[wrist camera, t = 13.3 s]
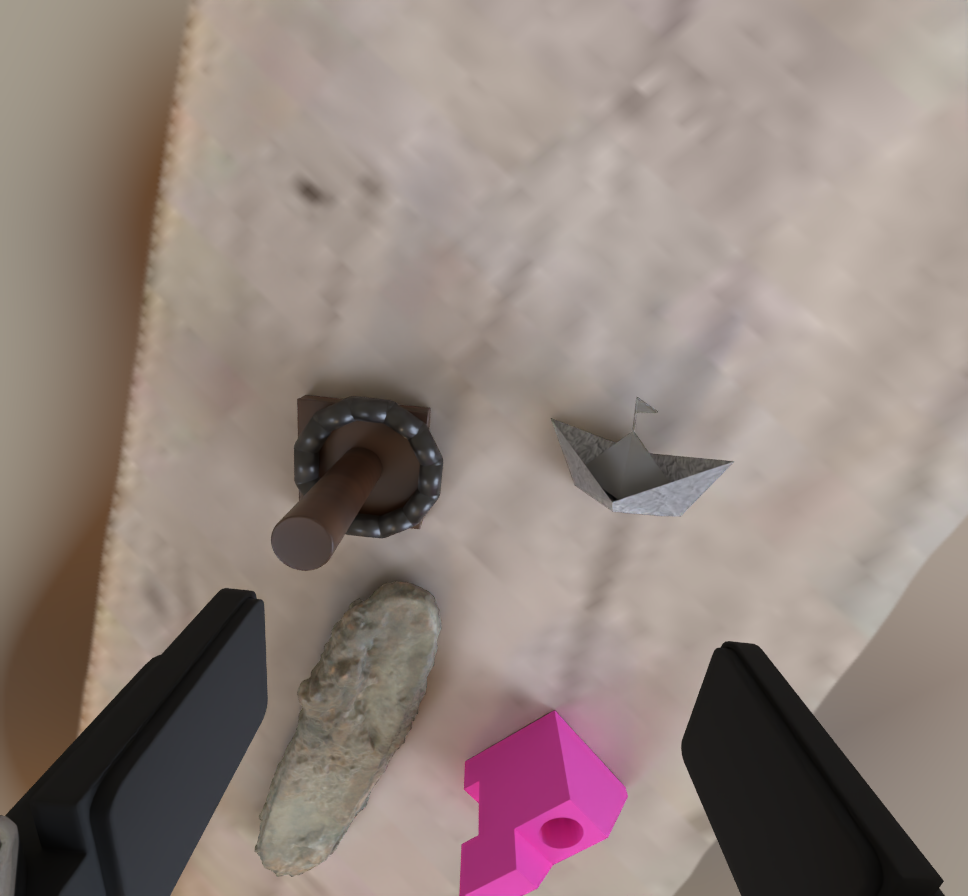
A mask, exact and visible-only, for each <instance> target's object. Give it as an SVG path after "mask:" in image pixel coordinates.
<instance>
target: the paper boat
mask: <svg viewBox="0 0 968 896" xmlns="http://www.w3.org/2000/svg"><path fill="white" fill-rule="evenodd" d="M637 413H658V411H657V410H655V409H654V408H652V407H651V406H650V405H648V404H647V403H645V402H644V401H642V400H641V399H640V398H638V397H637V398H636V406H635V414H634V422H633V430H632V432H631V433H629V434H628V435H627V436H625V437H624V438H623V439H621V440H620V441H618V442H617V443H615V442H612V441H609V440H607V439H604V438H602V437H599V436H596V435H594V434H591V433H589V432H586V431H583V430H581V429H578V428H576V427H573V426H570V425H568V424H565V423H563V422H560V421H557V420H555V419H552V418H551V420H552V423H553V426H554V429H555V431H556V434H557V437H558V440H559V442H560V445H561V448H562V451H563V454H564V456H565V459H566V462H567V465H568V467H569V470H570V473H571V476H572V479H573V481H574V484H575V486H576V487H578V488H579V489H581V490H582V491H584V492H585V493H587V494H588V495H589V496H591V497H592V498H594V499H595V500H597V501H598V502H599V503H601V504H602V505H604V506H605V507H607V508H608V509H610V510H611V511H612V512H623V513H634V514H645V515H656V516H681V515H682V514H683V513H684V512H685V511H686V510H687V509H688V508H689V507H690V506H691V505H692V504H693V503H694V502H695V501H696V500H697V499H698V498H699V497H700V496H701V495H702V494H703V493H704V492H705V491H706V490H707V489H708V488H709V487H710V486H711V485H712V484H713V483H714V482H715V481H716V480H717V479H718V478H719V477H720V476H721V475H722V474H723V472H724V471H725V470H726V469H727V468H728V467H729V466H730V465H731V464H732V463H733V462H734V461H725V460H714V459H703V458H692V457H681V456H671V455H660V454H649V452H648V451H647V449H646V448H645V447H644V445H643V444H642V442H641V441H640V439H639V438H638V436H637V435H636V434H635V432H634V430H635V422H636V414H637Z"/></svg>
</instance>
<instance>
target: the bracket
mask: <svg viewBox="0 0 968 896" xmlns="http://www.w3.org/2000/svg"><path fill="white" fill-rule="evenodd" d="M464 790H465V791H466V792H467V793H468V794H469V795H470V796H471V797H473V798H474V799H475V800H476V801H477V802H478V803H479V835H478V836H476V837H474V838H472V839H471V840H469V841H467V842H465V843H463V844H462V847H461V871H460V894H459V896H523V895H525V894H527V893H529V892H531V891H533V890H535V889H537V888H538V887H539V885H540V884H541V882H542V881H543V879H544V878H545V876H546V875H547V873H548V872H549V870H550V869H551V867H552V866H553V865H554V864H556V863H558V862H560V861H562V860H564V859H566V858H568V857H570V856H572V855H574V854H576V853H578V852H580V851H582V850H584V849H586V848H588V847H590V846H592V845H594V844H596V843H598V842H600V841H602V840H604V839H606V838H608V836H609V834H610V832H611V830H612V828H613V826H614V824H615V822H616V820H617V818H618V816H619V814H620V812H621V810H622V808H623V805H624V803H625V801H626V799H627V797H628V795H627V791H626V788H625V786H624V785H623V784H622V783H621V782H620V781H619V780H618V779H617V778H616V777H615V775H614V774H613V773H612V772H611V771H610V770H609V769H608V768H607V767H606V766H605V765H604V763H603V762H602V761H601V760H600V759H599V758H598V757H597V756H596V755H595V754H594V753H593V751H592V750H591V749H590V748H589V747H588V746H587V745H586V744H585V743H584V742H583V741H582V739H581V738H580V737H579V736H578V735H577V734H576V733H575V732H574V731H573V730H572V729H571V727H570V726H569V725H568V724H567V723H566V722H565V721H564V720H563V719H562V718H561V717H560V715H559V714H558V713H557V712H556V711H555V710H554V711H552V712H551V713H549V714H547V715H545V716H544V717H542V718H540V719H538V720H537V721H535V722H533V723H531V724H530V725H528V726H526V727H524V728H523V729H521V730H519V731H517V732H516V733H514V734H512V735H510V736H509V737H507V738H505V739H504V740H502V741H500V742H498V743H497V744H495V745H493V746H491V747H490V748H488V749H486V750H484V751H483V752H481V753H479V754H477V755H476V756H474V757H472V758H470V759H469V760H467V761H465V775H464Z"/></svg>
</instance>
